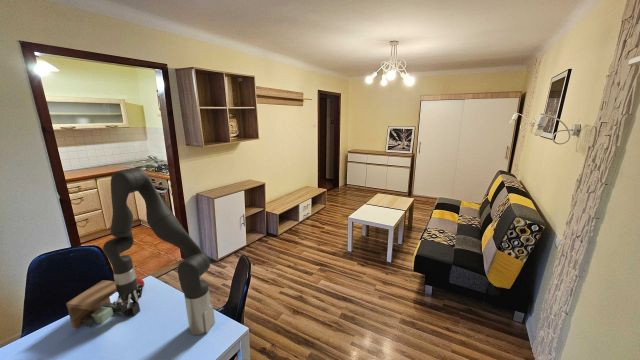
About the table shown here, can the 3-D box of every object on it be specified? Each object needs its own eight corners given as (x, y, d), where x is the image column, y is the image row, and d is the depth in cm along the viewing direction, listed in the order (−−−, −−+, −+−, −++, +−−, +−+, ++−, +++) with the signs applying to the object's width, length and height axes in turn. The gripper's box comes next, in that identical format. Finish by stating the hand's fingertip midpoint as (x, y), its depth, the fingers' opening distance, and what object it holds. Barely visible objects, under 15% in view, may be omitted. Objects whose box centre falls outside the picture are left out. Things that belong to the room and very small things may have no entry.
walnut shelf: (129, 305, 126) (124, 282, 123) (96, 332, 110) (90, 306, 107) (108, 302, 128) (102, 280, 125) (73, 328, 112) (66, 303, 109)
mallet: (140, 311, 122) (138, 302, 121) (117, 330, 111) (115, 322, 110) (108, 306, 125) (106, 298, 124) (82, 325, 114) (80, 317, 113)
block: (113, 315, 120) (111, 307, 119) (102, 323, 115) (101, 316, 114) (104, 313, 121) (102, 306, 120) (93, 322, 116) (91, 314, 115)
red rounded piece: (132, 296, 132) (129, 282, 130) (131, 290, 136) (128, 277, 134) (146, 291, 136) (143, 277, 134) (144, 286, 140) (141, 272, 138)
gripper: (118, 290, 109) (126, 324, 113) (145, 270, 123) (151, 302, 127) (103, 288, 110) (111, 322, 115) (131, 269, 124) (138, 300, 128)
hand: (132, 311), depth 121 cm, fingers closed on mallet, 3 cm apart
